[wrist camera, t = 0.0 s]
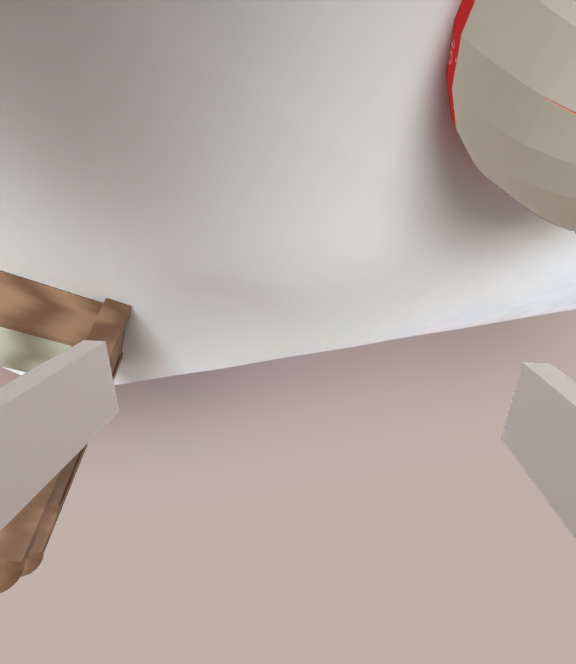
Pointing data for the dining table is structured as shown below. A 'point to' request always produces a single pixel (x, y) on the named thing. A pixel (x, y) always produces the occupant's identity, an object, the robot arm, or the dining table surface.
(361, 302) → the dining table surface
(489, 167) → the kitchen timer
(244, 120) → the dining table surface
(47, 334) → the wooden l-shaped piece
